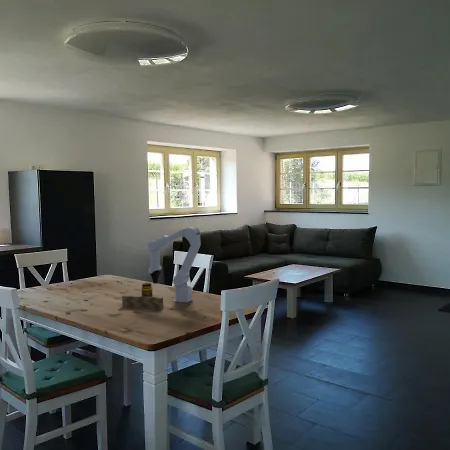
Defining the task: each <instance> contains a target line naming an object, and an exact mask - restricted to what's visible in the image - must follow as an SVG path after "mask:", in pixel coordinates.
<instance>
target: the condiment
mask: <svg viewBox="0 0 450 450" xmlns="http://www.w3.org/2000/svg"><path fill="white" fill-rule="evenodd" d="M152 287H153V286H152V283H150V282H144V283H142V284H141V296H149V297H153V288H152Z"/></svg>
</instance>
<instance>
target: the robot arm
mask: <svg viewBox="0 0 450 450" xmlns="http://www.w3.org/2000/svg"><path fill="white" fill-rule="evenodd" d="M179 238H185V239H186V240H187V241H188V243H189V245H190V246H189V248H188V251H187V254H186V256H185V258H184V260H183V262H182V265H181V267H180V269H179V271H178V272H177V273H176V275H175V276H174V277H173V278H172V283H173V284H174V298H175V299H173V300H172V302H175V303H189V302H190V301H192V300H193V289H192V286H189V285H188V282H189V280H190V278H189V277H190V270H191V269H192V266H193V263H194V261H195V259H196V257H197V254H198V252H199V249H200V247H201V245H202V244H201V243H202V241H201V231H200V229H199V228H198V227H197V226H192V227H186V228H182V229H180V230H178V231H175V232H174V233H171V234H170V235H167V234H166V235H165V234H163V235H161V237H157V238H155V239H154V240H150V241H149V243H148V244H147V248H148V250H149V267H148V270H147V274H149V275H150V277H151V279H152V283H153V284H158V282H159V278H160V276H161V273H162V271H161V270H162V265H161V258H160V256H161V255H160V253H161V252H160V251H161V249H162V248H164V247H166V246H168V245H170V244H171V242H172V241H173V240H178V239H179Z"/></svg>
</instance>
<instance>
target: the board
mask: <svg viewBox="0 0 450 450" xmlns="http://www.w3.org/2000/svg"><path fill="white" fill-rule="evenodd" d="M121 297H122V298H121V301H122V302H121V303H122V304H121V305H122V307H123V308H124V307H125V308H136V309H137V308H141V309H151V310H152V309H154V310H163V309H164V297H163V296H162V297H161V296H152V297H149V296H142V295H132V294H131V295H129V294H123V295H121Z"/></svg>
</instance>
